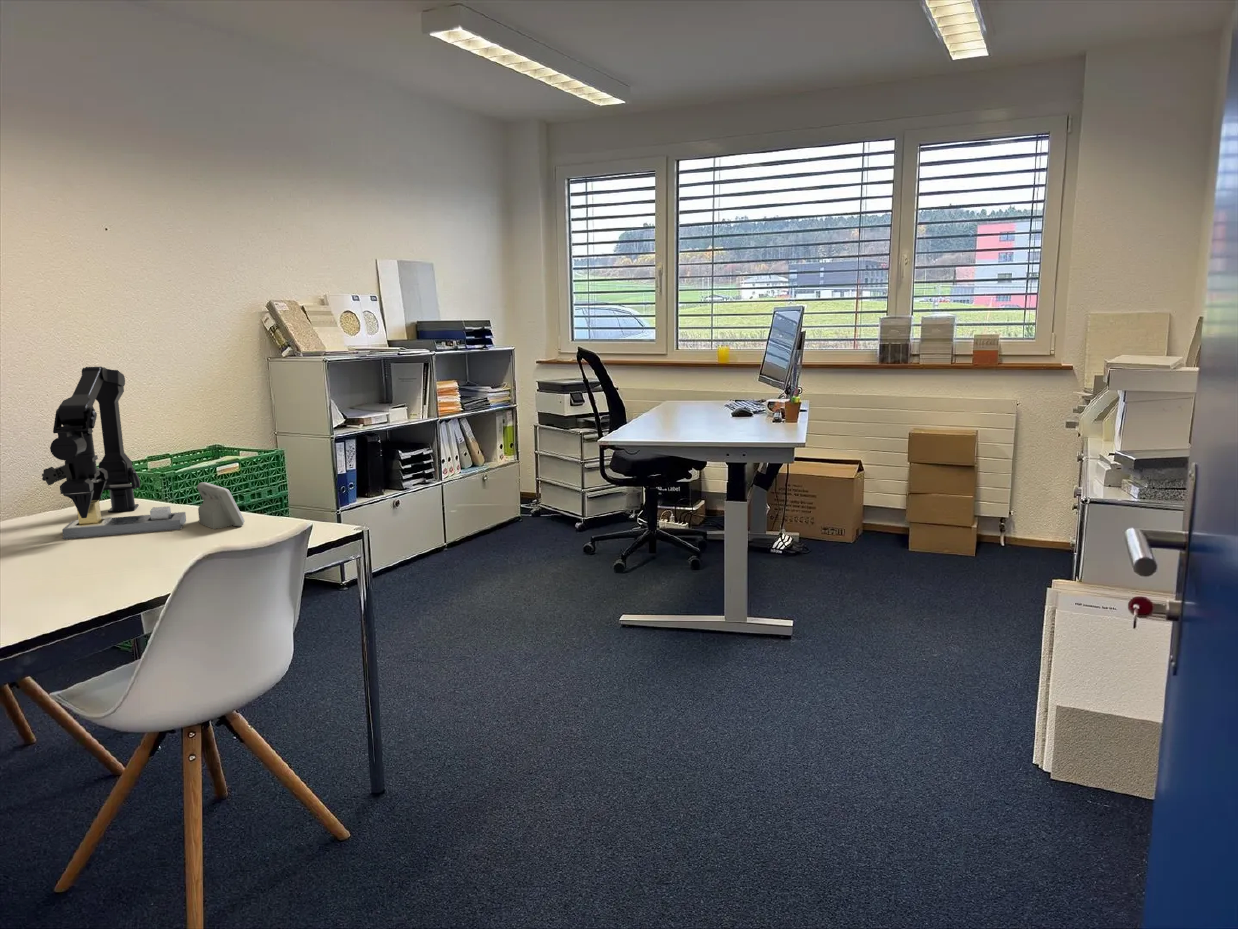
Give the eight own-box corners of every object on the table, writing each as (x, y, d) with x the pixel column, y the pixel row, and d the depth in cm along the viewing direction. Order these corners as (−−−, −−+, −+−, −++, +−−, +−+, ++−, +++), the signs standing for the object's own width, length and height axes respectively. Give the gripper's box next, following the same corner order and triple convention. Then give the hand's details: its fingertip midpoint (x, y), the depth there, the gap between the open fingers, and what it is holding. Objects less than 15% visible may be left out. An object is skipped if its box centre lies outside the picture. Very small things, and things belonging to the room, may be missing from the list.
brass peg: (85, 531, 207) (80, 501, 206) (102, 530, 208) (98, 500, 207) (80, 535, 203) (76, 504, 202) (98, 534, 205) (94, 503, 203)
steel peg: (155, 526, 212) (153, 507, 211) (172, 524, 214) (170, 506, 213) (152, 529, 209) (149, 511, 208) (169, 528, 210) (167, 509, 209)
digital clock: (246, 527, 211) (243, 487, 209) (208, 533, 205) (204, 492, 203) (231, 515, 223) (228, 477, 221) (195, 520, 218) (191, 482, 216)
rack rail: (74, 530, 208) (72, 519, 208) (186, 520, 217) (185, 510, 216) (63, 539, 200) (62, 528, 199) (180, 529, 209) (179, 518, 208)
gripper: (55, 449, 208) (63, 508, 211) (30, 462, 191) (39, 525, 194) (104, 446, 212) (112, 504, 215) (85, 458, 194) (93, 521, 197)
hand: (89, 513), depth 205 cm, fingers open, 9 cm apart
